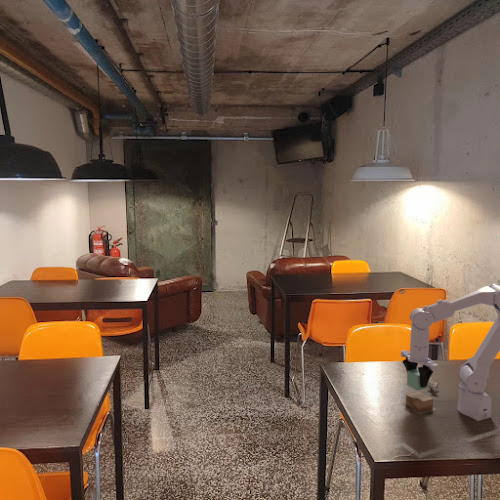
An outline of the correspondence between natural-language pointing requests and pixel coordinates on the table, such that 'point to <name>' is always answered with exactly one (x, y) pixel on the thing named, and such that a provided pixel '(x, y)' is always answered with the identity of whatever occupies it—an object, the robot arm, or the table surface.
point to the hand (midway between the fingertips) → (417, 383)
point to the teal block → (414, 379)
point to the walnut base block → (419, 401)
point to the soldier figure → (433, 384)
